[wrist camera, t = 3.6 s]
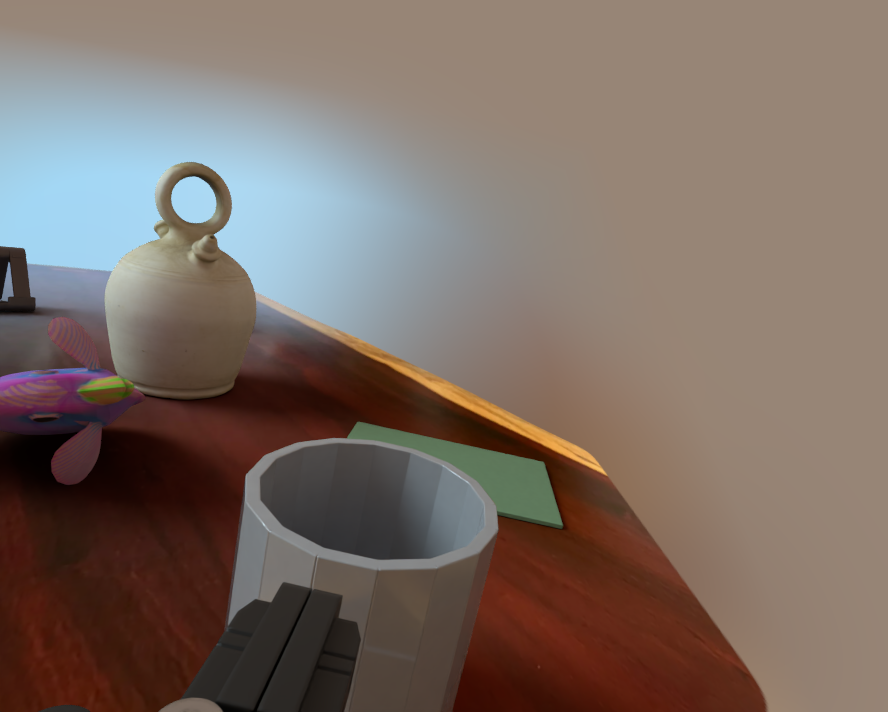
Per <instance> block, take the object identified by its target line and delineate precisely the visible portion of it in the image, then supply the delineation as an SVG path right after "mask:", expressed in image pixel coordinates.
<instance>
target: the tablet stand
mask: <svg viewBox="0 0 888 712" xmlns="http://www.w3.org/2000/svg"><path fill="white" fill-rule="evenodd" d="M8 262H10V267H11V276H12V285H13V294H14V297H8V302H0V311H21V312H27V311H34V310H35V298H34V297H30V288H29V279H28V270H27V261H26V254H25V250H24V249H23V248H14V247H1V246H0V299H2V294H3V288H4V283H5V278H6V272H7V267H8Z"/></svg>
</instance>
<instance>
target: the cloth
mask: <svg viewBox="0 0 888 712" xmlns="http://www.w3.org/2000/svg"><path fill="white" fill-rule="evenodd" d="M347 439H361V440H375V441H380V442H385V443H389V444H394V445H399V446H403V447H408V448H412V449H416V450H418V451H421V452H423V453H426V454H428V455H431V456H433V457H436V458H438V459H441V460H443V461H446V462H448V463H451V464H452V465H454V466H455V467H457V468H458V469H460V470H461V471H463V472H464V473H466V474H467V475H469V476H470V477H472V478H473V479H475V480H476V481H478V483H479V484H480V485H481V486H482V488H483V489H484V490H485V491H486V493H487V494H488V495H489V497H490V498H491V499H492V501H493V502H494V503H495V504H496V506H497V515H500V516H505V517H509V518H514V519H518V520H523V521H528V522H532V523H537V524H541V525H546V526H550V527H555V528H559V529H562V527H563V524H562V521H561V517H560V514H559V511H558V507H557V504H556V501H555V497H554V494H553V491H552V488H551V484H550V481H549V478H548V474H547V471H546V468H545V464H544V462H540V461H536V460H531V459H527V458H522V457H517V456H513V455H508V454H504V453H499V452H495V451H490V450H485V449H481V448H476V447H472V446H467V445H463V444H458V443H453V442H449V441H444V440H440V439H435V438H431V437H426V436H421V435H417V434H412V433H408V432H403V431H398V430H394V429H389V428H385V427H380V426H376V425H371V424H366V423H362V422H357V423H356V425H355V426H354V428H353V430H352V431H351V433H350V434H349V436H348V437H347Z"/></svg>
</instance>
